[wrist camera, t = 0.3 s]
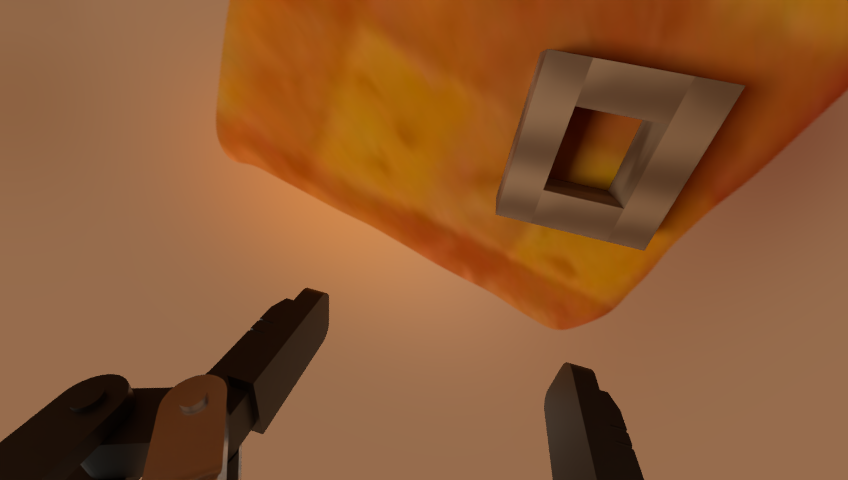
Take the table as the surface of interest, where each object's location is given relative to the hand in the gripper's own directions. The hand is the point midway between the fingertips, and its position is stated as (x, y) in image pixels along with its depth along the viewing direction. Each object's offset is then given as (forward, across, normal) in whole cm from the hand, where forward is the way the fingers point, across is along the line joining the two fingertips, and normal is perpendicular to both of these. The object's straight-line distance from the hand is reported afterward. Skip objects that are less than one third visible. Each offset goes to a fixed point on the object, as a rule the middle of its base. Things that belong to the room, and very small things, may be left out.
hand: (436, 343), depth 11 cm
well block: (+27, -10, -3) cm, 29 cm away
